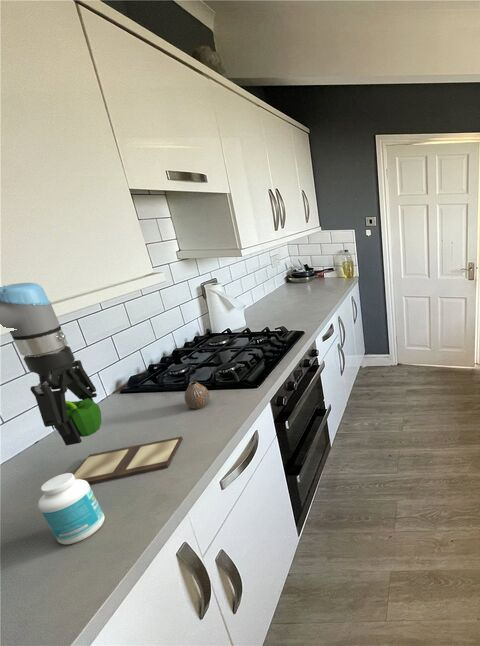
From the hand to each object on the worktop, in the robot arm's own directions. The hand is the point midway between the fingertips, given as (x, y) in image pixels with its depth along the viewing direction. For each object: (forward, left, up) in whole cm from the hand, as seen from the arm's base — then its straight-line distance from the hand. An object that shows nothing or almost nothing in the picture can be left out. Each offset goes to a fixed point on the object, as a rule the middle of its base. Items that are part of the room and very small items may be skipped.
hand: (84, 431), depth 87 cm
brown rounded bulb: (+17, +24, -12) cm, 32 cm away
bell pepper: (0, 0, -1) cm, 1 cm away
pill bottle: (+6, -21, -12) cm, 25 cm away
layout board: (+6, 0, -12) cm, 13 cm away
